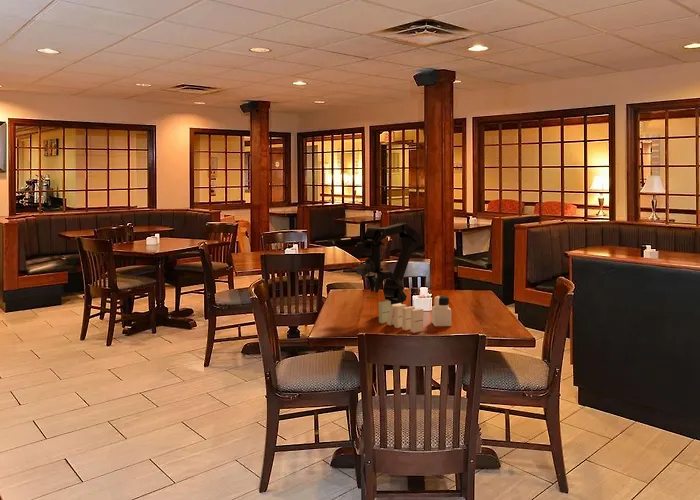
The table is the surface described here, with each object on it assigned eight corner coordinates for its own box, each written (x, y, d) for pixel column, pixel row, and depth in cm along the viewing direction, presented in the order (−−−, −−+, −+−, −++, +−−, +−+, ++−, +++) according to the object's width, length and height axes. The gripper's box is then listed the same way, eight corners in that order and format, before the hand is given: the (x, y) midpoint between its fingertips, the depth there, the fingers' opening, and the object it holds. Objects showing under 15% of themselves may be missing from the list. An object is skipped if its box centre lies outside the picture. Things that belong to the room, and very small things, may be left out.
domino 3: (402, 329, 255) (402, 307, 254) (411, 327, 258) (411, 306, 257) (405, 330, 253) (405, 308, 252) (414, 328, 256) (414, 307, 255)
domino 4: (410, 331, 251) (410, 309, 250) (419, 329, 254) (419, 308, 253) (414, 332, 249) (414, 310, 248) (423, 330, 252) (423, 309, 251)
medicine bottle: (448, 322, 266) (448, 294, 265) (451, 326, 259) (451, 298, 258) (431, 322, 266) (431, 294, 265) (434, 326, 259) (434, 298, 257)
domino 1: (386, 323, 262) (391, 304, 259) (395, 321, 265) (400, 303, 262) (389, 325, 261) (394, 307, 258) (398, 323, 264) (403, 305, 261)
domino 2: (394, 327, 259) (394, 305, 258) (403, 325, 262) (403, 304, 261) (397, 327, 257) (397, 306, 256) (406, 326, 260) (406, 304, 259)
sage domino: (378, 322, 267) (378, 301, 266) (387, 320, 270) (387, 300, 268) (381, 323, 265) (381, 302, 264) (390, 321, 268) (390, 301, 267)
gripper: (346, 256, 272) (346, 291, 274) (373, 260, 257) (373, 297, 259) (366, 253, 279) (366, 288, 281) (393, 258, 264) (393, 294, 266)
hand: (374, 292), depth 271 cm, fingers open, 3 cm apart
